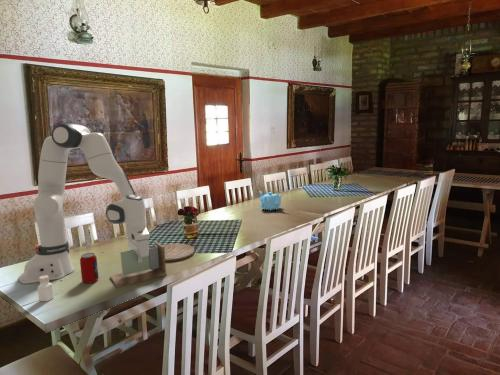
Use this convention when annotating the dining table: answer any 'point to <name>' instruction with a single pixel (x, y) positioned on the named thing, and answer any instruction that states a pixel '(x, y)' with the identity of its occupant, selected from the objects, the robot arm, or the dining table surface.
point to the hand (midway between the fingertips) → (138, 261)
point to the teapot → (270, 201)
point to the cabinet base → (143, 275)
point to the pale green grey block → (132, 264)
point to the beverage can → (89, 267)
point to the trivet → (177, 252)
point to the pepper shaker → (45, 289)
